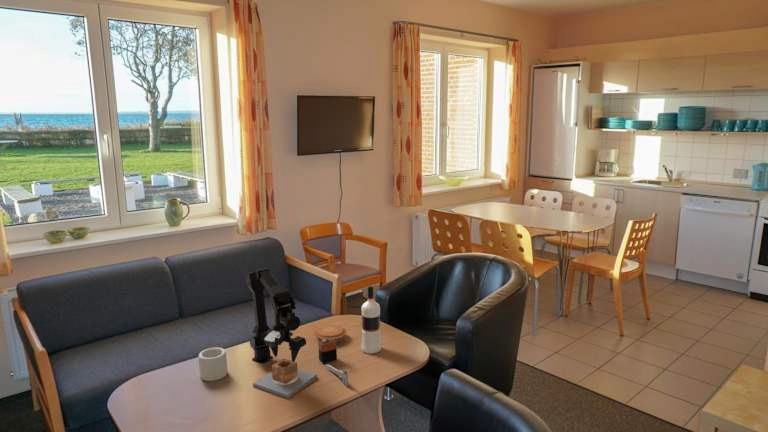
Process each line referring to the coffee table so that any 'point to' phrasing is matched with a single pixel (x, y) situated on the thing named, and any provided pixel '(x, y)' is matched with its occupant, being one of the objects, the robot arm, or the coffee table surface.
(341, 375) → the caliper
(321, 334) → the pie
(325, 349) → the battery
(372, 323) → the vodka
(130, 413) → the coffee table surface
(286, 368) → the collar
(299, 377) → the post board
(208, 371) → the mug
